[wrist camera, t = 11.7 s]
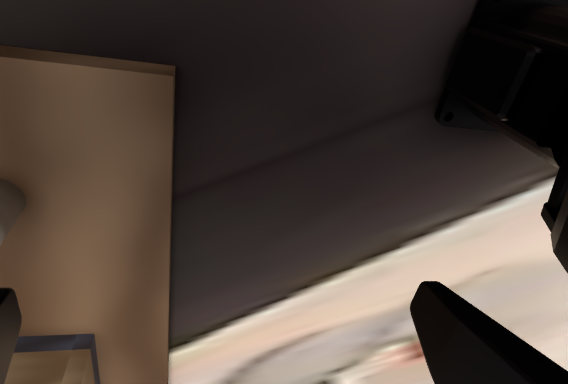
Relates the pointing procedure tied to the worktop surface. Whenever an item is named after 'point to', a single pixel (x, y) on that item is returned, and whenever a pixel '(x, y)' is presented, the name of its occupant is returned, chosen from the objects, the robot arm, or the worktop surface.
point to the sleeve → (54, 360)
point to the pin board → (89, 203)
